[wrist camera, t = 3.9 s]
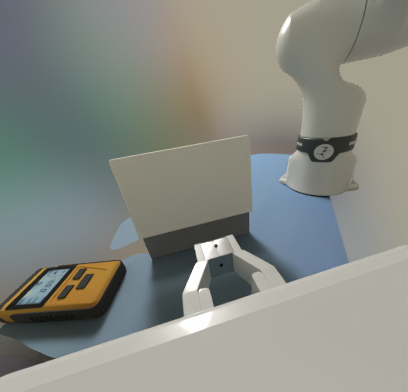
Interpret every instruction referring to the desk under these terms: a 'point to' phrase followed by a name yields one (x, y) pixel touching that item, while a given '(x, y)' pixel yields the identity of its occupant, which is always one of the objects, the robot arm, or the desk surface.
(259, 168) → the desk surface
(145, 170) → the cover
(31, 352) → the bluetooth speaker
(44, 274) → the electronic device
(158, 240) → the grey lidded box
